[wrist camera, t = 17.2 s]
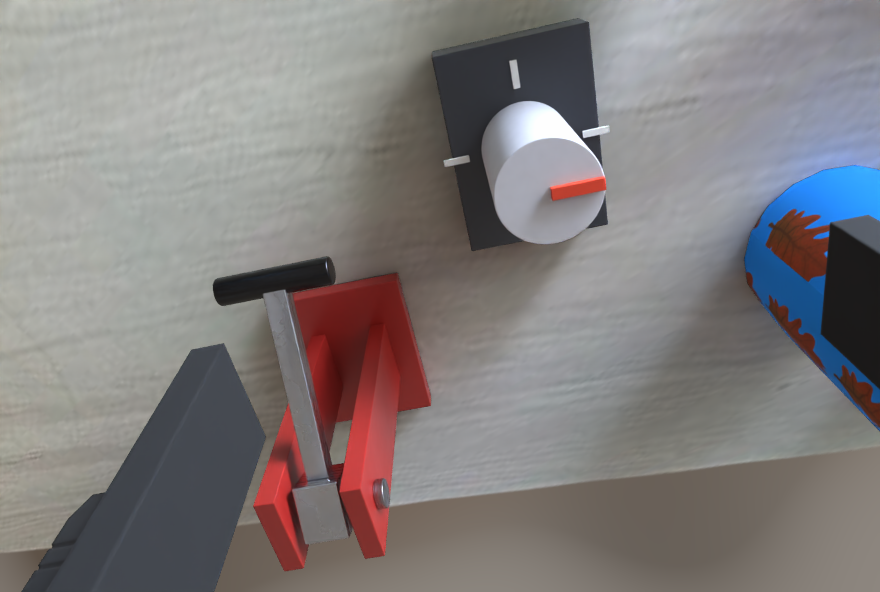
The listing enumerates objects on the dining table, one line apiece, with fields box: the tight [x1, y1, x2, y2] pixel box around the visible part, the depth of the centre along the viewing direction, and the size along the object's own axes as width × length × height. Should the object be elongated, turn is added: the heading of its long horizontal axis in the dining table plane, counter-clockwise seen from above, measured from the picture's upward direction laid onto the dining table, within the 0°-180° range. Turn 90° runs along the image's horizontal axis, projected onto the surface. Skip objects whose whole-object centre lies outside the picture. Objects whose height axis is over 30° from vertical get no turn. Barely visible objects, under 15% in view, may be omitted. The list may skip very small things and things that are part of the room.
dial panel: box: [432, 18, 610, 251], centre depth 35 cm, size 11×9×3 cm
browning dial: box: [481, 101, 606, 244], centre depth 30 cm, size 5×5×8 cm
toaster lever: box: [213, 256, 353, 545], centre depth 30 cm, size 13×6×2 cm, turn 12°
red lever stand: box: [253, 273, 431, 571], centre depth 36 cm, size 10×8×16 cm
